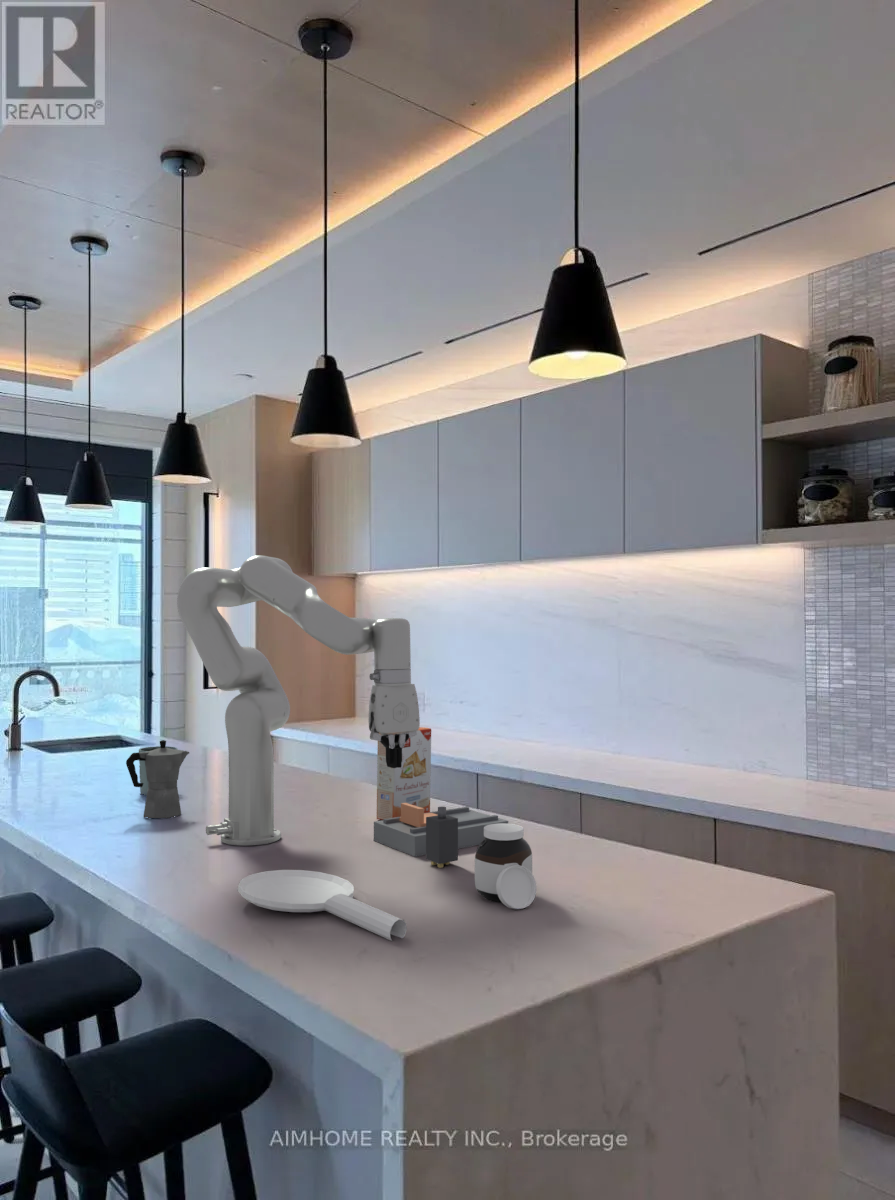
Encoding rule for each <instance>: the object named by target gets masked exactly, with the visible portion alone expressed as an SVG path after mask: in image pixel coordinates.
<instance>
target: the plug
mask: <svg viewBox="0 0 895 1200" xmlns="http://www.w3.org/2000/svg"><path fill="white" fill-rule="evenodd" d="M446 810H447V806H438V807H437V811H438V815H437V816H431V817H426V855H425V859H426V860H428V861H430V865H432V866H436V865H437V868H440V869H441V868H444V865H447V866H448V865H450V864H451V863H453V862H456V861H459V849H458V818H455V817H452V816H448V815H446Z"/></svg>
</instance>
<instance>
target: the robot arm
mask: <svg viewBox="0 0 895 1200" xmlns="http://www.w3.org/2000/svg"><path fill="white" fill-rule="evenodd" d="M260 601H263V602H265V603H266V604H268V605H269V606H271V607H273V608H274V609H276V610H277V611H279V612H280V613H282V614H284V615H286V616H287V617H289V618H290V619H291V620H292V621H293V623H295V624H296V625H297V626H298V627H299V628H301V629H302V630H303V631H304V632H305V633H306V634H307V635H309V636H310V637H312V638H313V639H314V640H316V641H318V642H319V643H321V644H323V645H324V646H326V647H327V648H328V649H331V650H333V651H334V652H336V653H338V654H342V655H348V656H349V655H361V654H369V653H373V652H374V654H373V655H374V657H373V659H374V660H373V661H374V670H373V672H372V673H370V674H369V680H371V681H373V682H374V685H373V684H372V685H371V690H370V695H369V703H368V704H369V705H368V730H369V731H370V732H369V733H370V734H369V739H370V741H371V740H373V741H377V742H378V741H380V742H381V743H382V744H383V746H384V747H385V748H386V763H387V767H391V768H397V767H398V768H400V767H401V762H402V748H403V747H404V745H405V742H406V741H407V740H408V738H411V737H414V736H416V735H417V732H416V731H417V730H418V729H419V727H421V726H420V724H421V723H420V720H421V719H420V718H421V717H420V708H419V698H418V694H417V689H416V685H415V683H412V671H411V662H412V661H411V656H412V655H411V626H410V625H411V624H410V621H408V620H407V619H405V618H402V617H401V618H399V617H396V618H393V617H391V618H379V619H372V618H367V617H366V618H365V617H349V616H348V615H346V614H344V613H342V612H341V611H339V610H337V609H336V608H334V607H333V606H332V605H330V604H328V603H327V602H325V601H324V600H323V599H322V598H321V597H320V596H319V594H318V589H317V587H316V586H315V585H314V584H312V583H311V582H309V581H307V580H306V579H304V578H303V577H301V576H300V575H298V574H296V573H294V572H293V570H292V568H291V566H290V565H289V564H288V562H286V561H285V560H284V559H282V558H278V557H274V556H267V555H253V556H250V557H248V558H247V559H246V560H245V561H243V563H242V564H241V566H240V567H239V568H238V567H237V568H233V569H226V568H220V567H219V568H218V567H200V568H197V569H194V570H192V571H191V572H190V573H188V574H187V575H186V576H185V577H184V579H182V582H181V584H180V585H179V588H178V592H177V598H176V605H177V610H178V611H177V613H178V614H179V618H180V620H181V622H182V624H183V626H184V628H185V630H186V631H187V633H188V635H189V636H190V639H191V640H192V643H193V645H194V648H195V649H196V651H197V653H198V655H199V657H200V660H201V661H202V663H203V666H204V667H205V669H206V672H207V674H208V676H209V677H210V679H211V681H212V684H213V685H214V687H216V688H217V689H219V690H221V691H224V692H225V691H226V692H235V691H238V692H239V693H240V694H238V695H236V696H234V697H233V698H232V699H231V701H229V703H228V704H227V706H226V710H225V713H224V724H225V725H224V726H225V730H226V735H227V736H226V737H227V745H228V817H225V818H223V821H222V822H220V824H212V825H211V824H210V825H206V826H205V833H206V835H207V836H212V835H216V836H220V841H221V843H223V844H226V845H231V846H238V847H239V846H240V847H242V846H246V847H247V846H248V847H249V846H261V845H267V844H272V843H274V842H277V841H278V840H281V837H282V833H281V830H279V829H276V828H275V826H274V824H275V823H274V821H275V820H274V819H275V814H274V813H275V812H274V811H275V809H274V808H275V800H274V799H275V753H274V745H273V741H272V736H271V732H273V731H276V730H279V729H281V728H282V727H283V726H284V725H286V723H287V722H288V721H289V718H290V713H291V705H290V704H291V703H290V701H289V699H288V698H289V697H288V696H287V693H286V691H285V690H284V688H283V686H282V684H281V682H280V680H279V678H278V677H277V674H276V673H275V671H274V668H273V667H272V665H271V663H270V661H269V660H268V658H267V657H266V656H265V654H264V653H263V652H262V651H260V650H259V649H257V648H255V647H251V646H241V644H240V643H239V641H238V640H237V638H236V636H235V634H234V632H233V630H232V627H231V626H230V624H229V623H228V621H227V620H226V618H225V617H223V616H222V614H221V613H220V611H219V609H218V608H219V607H223V608H233V607H234V608H235V607H240V606H244V605H247V604H252V603H256V602H260ZM379 733H381V735H379ZM393 734H394V736H393Z"/></svg>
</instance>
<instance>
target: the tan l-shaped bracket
mask: <svg viewBox="0 0 895 1200" xmlns="http://www.w3.org/2000/svg"><path fill="white" fill-rule="evenodd" d="M431 816H437V814H434V813H424V808H421V807H418V806H415V805H411V804H408V803H401V817H400V821H401V822H404V823H407V824H410V825H413V826H416V827H423V826H426V817H431Z"/></svg>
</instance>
